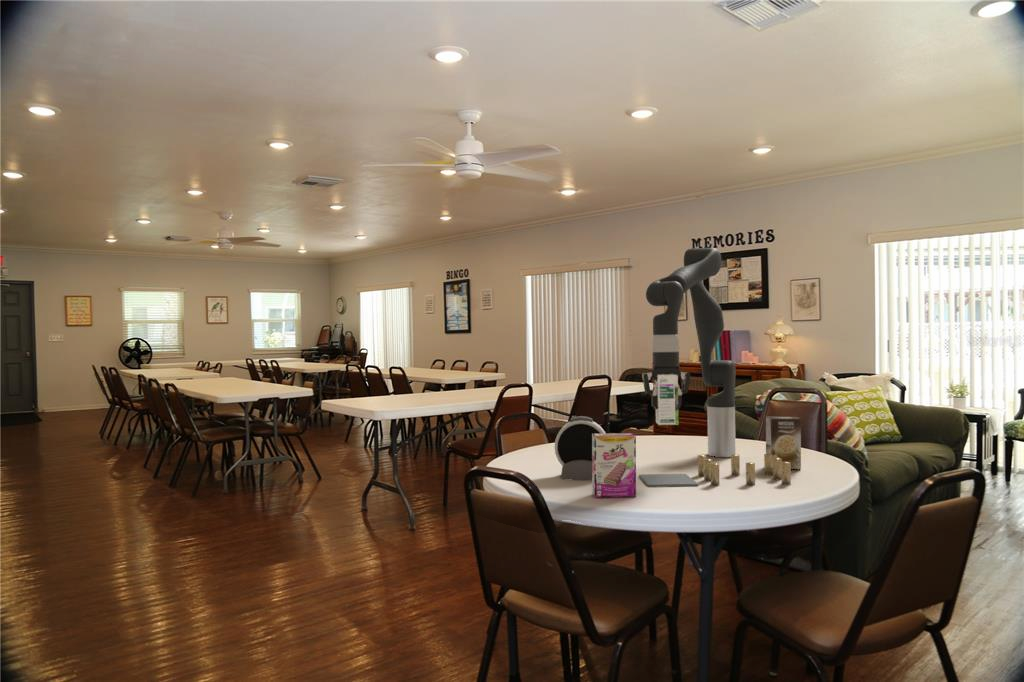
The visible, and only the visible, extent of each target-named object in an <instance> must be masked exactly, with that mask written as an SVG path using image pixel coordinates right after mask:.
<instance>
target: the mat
mask: <svg viewBox="0 0 1024 682" xmlns="http://www.w3.org/2000/svg"><path fill="white" fill-rule="evenodd" d="M638 478H640V479H641V480H642V482H643V483H644V482H645V483H646V484H647V485H648V486H670V487H699V483H698V482H697V481H695V480H694V479H692V477H690V476H689V475H687V474H686V473H662V474H661V473H658V474H657V473H655V474H651V473H650V474H645V473H644V474H638ZM645 483H644V484H645ZM646 484H645V485H646ZM647 485H646V486H647ZM648 486H647V487H648Z"/></svg>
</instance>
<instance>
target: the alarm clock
mask: <svg viewBox="0 0 1024 682" xmlns="http://www.w3.org/2000/svg"><path fill="white" fill-rule="evenodd" d="M569 419H570V420H569V421H568V422H567V423H566V424H565V425H563V426H562V427H561V429H560V430H559V431H558V433H557V434H556V438H555V440H554V454H555V456H556V458H557V461H558V462H559V464H561V475H560V479H561V478H562V479H561V480H565V479H572V480H571V481H592V434H607V433H606V431H605V430H604V429H603V428H602V426H601V425H599V424H598V423H597V422H595V421H594V420H593V418H592V417H589V416H585V415H584V416H583V415H580V416H574V417H571V418H569Z"/></svg>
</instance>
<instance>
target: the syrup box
mask: <svg viewBox="0 0 1024 682" xmlns="http://www.w3.org/2000/svg"><path fill="white" fill-rule="evenodd" d="M655 381H656V380H655V379H654V382H655ZM678 381H679V378H678V375H677V374H674V375H670V374H665V375H660V374H658V375H657V382H656V384H657V383H658V389H657V391H658V393H657V396H658V409H655V423H656V424H657V425H658V426H675V425H676V426H678V425H679V424H680V422H679V417H680V416H679V408H678V385H679V382H678Z"/></svg>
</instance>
